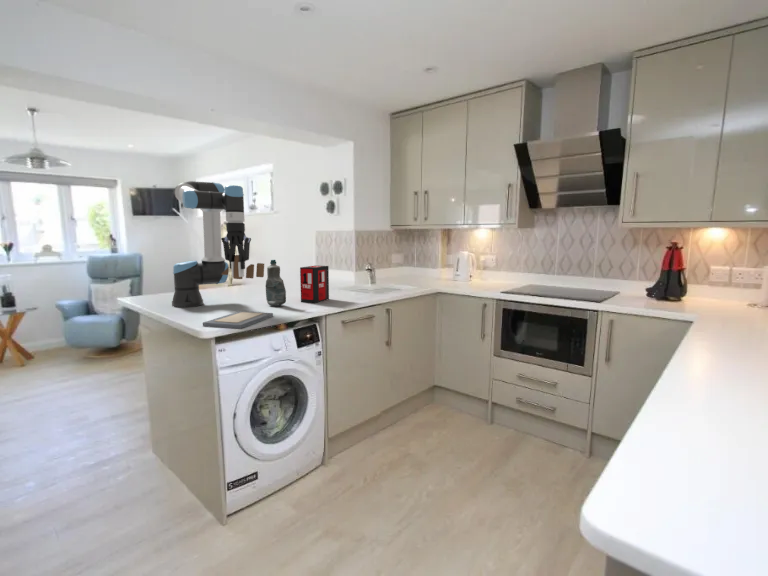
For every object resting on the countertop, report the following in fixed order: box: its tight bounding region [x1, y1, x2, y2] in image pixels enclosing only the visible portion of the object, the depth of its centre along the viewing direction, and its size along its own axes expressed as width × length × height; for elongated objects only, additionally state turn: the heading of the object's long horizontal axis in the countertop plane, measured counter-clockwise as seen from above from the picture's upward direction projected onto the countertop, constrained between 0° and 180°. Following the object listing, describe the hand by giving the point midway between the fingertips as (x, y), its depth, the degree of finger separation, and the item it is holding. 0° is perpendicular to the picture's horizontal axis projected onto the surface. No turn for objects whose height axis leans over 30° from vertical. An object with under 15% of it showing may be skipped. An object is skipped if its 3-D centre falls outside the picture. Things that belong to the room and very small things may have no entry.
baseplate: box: [202, 310, 274, 330], centre depth 177 cm, size 18×26×2 cm
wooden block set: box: [221, 254, 265, 280], centre depth 178 cm, size 18×9×10 cm, turn 112°
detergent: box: [265, 259, 287, 307], centre depth 214 cm, size 13×7×25 cm, turn 67°
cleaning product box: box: [299, 265, 330, 304], centre depth 232 cm, size 16×9×20 cm, turn 159°
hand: (237, 276), depth 175 cm, fingers closed on wooden block set, 3 cm apart
